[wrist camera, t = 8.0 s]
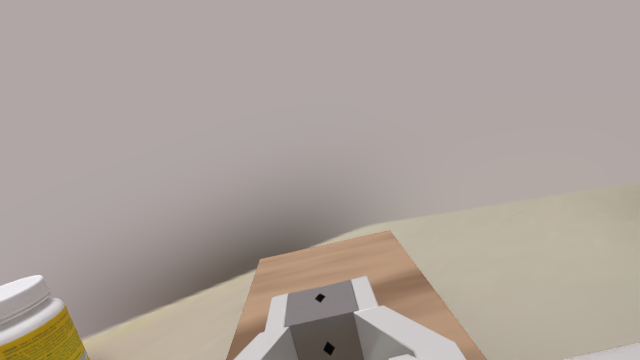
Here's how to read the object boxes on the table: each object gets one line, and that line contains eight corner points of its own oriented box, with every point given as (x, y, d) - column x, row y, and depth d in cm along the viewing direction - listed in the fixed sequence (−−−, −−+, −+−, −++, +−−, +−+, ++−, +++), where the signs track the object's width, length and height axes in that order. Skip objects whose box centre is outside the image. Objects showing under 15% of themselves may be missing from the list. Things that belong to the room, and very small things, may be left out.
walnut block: (523, 407, 8) (389, 230, 22) (184, 484, 8) (260, 259, 22) (535, 532, 9) (400, 288, 23) (232, 599, 10) (276, 316, 23)
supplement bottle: (109, 361, 23) (67, 264, 21) (68, 418, 19) (11, 302, 17) (43, 380, 23) (-5, 283, 21) (-15, 444, 18) (-83, 326, 16)
